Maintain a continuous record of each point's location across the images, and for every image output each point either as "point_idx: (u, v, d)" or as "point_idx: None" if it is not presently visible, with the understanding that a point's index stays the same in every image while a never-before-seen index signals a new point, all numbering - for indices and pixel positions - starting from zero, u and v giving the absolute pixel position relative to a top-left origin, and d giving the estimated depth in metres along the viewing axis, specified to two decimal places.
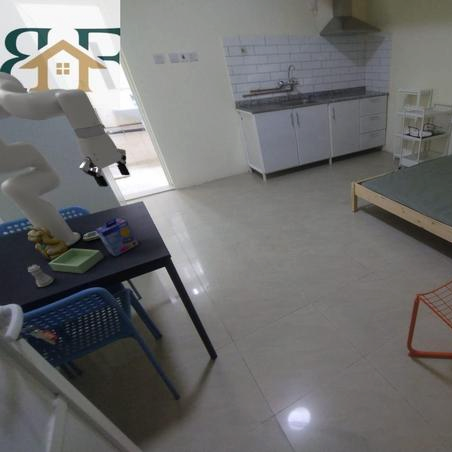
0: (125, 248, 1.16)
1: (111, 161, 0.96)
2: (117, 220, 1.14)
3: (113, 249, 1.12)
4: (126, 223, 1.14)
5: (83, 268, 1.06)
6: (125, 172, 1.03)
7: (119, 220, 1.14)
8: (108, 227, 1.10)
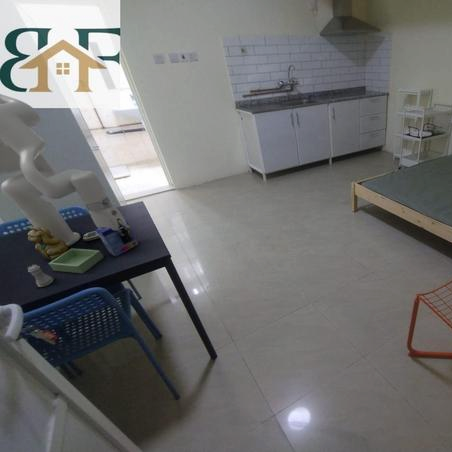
0: (125, 248, 1.16)
1: None
2: None
3: (113, 249, 1.12)
4: None
5: (83, 268, 1.06)
6: None
7: None
8: None
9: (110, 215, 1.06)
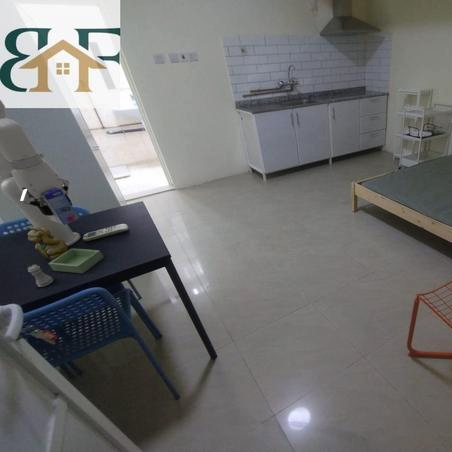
0: None
1: None
2: None
3: None
4: None
5: (83, 268, 1.06)
6: None
7: None
8: None
9: (52, 169, 0.96)
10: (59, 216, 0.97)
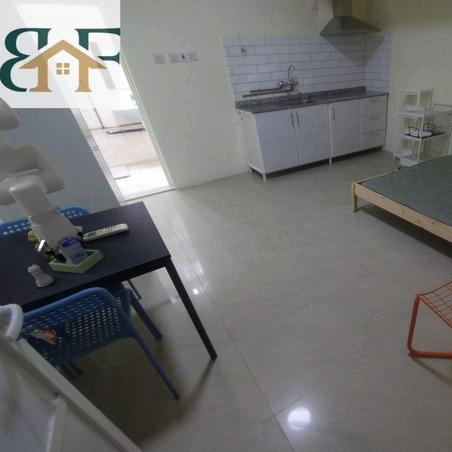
0: None
1: None
2: None
3: None
4: None
5: (83, 268, 1.06)
6: None
7: None
8: None
9: (67, 219, 1.04)
10: (73, 262, 1.05)
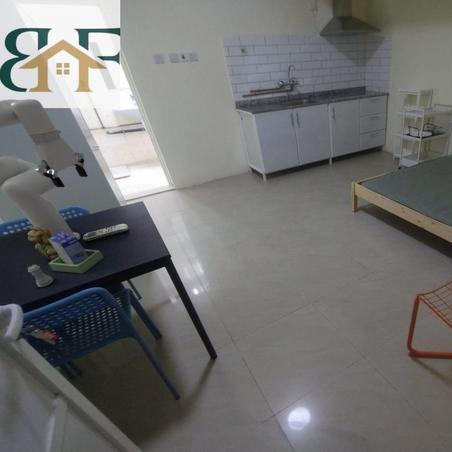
0: None
1: (67, 164, 1.05)
2: (54, 237, 1.04)
3: None
4: None
5: (83, 268, 1.06)
6: (83, 174, 1.12)
7: (55, 236, 1.05)
8: (67, 236, 1.04)
9: None
10: (73, 262, 1.05)
